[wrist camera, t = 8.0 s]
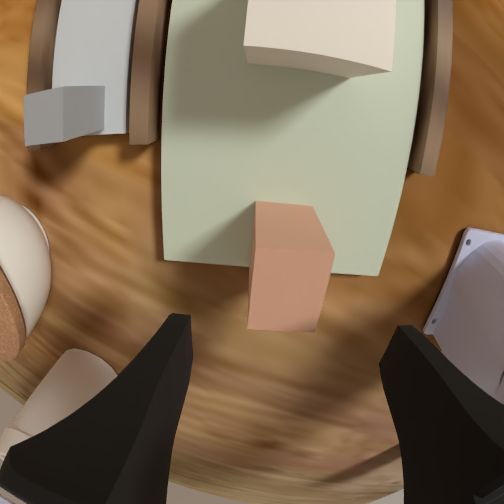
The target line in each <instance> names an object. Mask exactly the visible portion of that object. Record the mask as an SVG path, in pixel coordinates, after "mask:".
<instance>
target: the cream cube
mask: <svg viewBox="0 0 504 504" xmlns="http://www.w3.org/2000/svg"><path fill="white" fill-rule="evenodd" d="M395 20H396V0H248V6H247V16H246V25H245V35H244V45H243V46H244V50H245V55H246V59H247V64H259V65H270V66H279V67H288V68H295V69H302V70H309V71H315V72H321V73H327V74H332V75H337V76H342V77H347V78H354V77H360V76H366V75H372V74H379V73H386V72H392V65H393V54H394V40H395Z"/></svg>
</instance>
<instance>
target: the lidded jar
mask: <svg viewBox="0 0 504 504" xmlns="http://www.w3.org/2000/svg"><path fill="white" fill-rule="evenodd" d="M50 286H51V260H50V247H49V242H48V238H47V235H46V232H45V230H44V228H43V226H42V224H41V223H40V221H39V220H38V218H37V217H36V216H35V215H34V213H33V212H32V211H30V210H29V209H28V208H27V207H25V206H24V205H21V204H19V203H17V202H16V201H14V200H13V199H11V198H8V197H6V196H3V195H0V361H11V360H14V359H15V358H16V357H17V356H18V355H19V353H20V352H21V350H22V348H23V346H24V345H25V341H26V339H27V338H28V337H29V335H30V333H31V332H32V330H33V329H34V327H35V325H36V324H37V322H38V320H39V318H40V316H41V314H42V312H43V310H44V307H45V305H46V302H47V299H48V296H49V291H50Z"/></svg>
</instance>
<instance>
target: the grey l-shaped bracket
mask: <svg viewBox="0 0 504 504" xmlns="http://www.w3.org/2000/svg"><path fill="white" fill-rule="evenodd" d="M138 6H139V0H62V2H61V7H60V13H59V19H58V25H57V33H56V41H55V50H54V61H53V76H52V89H49V90H44V91H40V92H36V93H32V94H28V95H24V136H25V146H30V145H38V144H46V143H56V142H64V141H67V140H70V139H73V138H76V137H79V136H88V135H103V134H124V133H129V119H130V89H131V72H132V58H133V47H134V37H135V29H136V20H137V13H138Z"/></svg>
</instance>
